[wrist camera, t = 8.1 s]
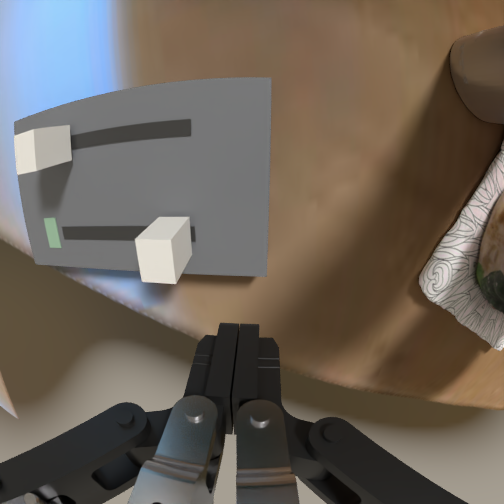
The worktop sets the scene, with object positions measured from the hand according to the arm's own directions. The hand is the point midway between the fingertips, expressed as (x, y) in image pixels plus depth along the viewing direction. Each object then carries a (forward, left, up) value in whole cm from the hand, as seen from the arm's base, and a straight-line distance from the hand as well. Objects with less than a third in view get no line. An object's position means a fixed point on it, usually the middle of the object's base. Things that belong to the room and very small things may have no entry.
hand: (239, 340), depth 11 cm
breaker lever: (+16, -8, -11) cm, 21 cm away
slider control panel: (+11, -4, -15) cm, 19 cm away
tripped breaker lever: (+6, 0, -11) cm, 13 cm away
